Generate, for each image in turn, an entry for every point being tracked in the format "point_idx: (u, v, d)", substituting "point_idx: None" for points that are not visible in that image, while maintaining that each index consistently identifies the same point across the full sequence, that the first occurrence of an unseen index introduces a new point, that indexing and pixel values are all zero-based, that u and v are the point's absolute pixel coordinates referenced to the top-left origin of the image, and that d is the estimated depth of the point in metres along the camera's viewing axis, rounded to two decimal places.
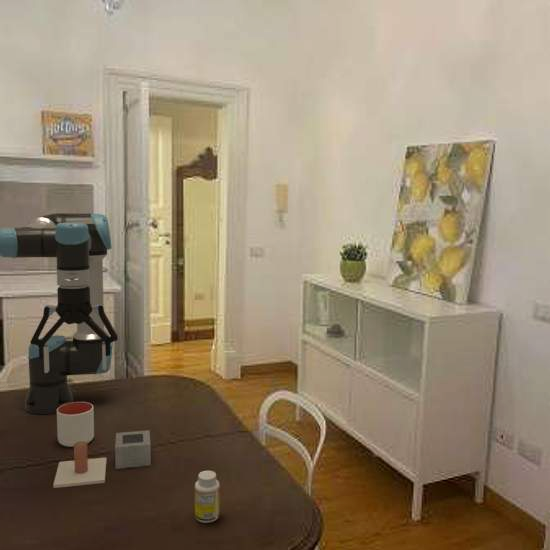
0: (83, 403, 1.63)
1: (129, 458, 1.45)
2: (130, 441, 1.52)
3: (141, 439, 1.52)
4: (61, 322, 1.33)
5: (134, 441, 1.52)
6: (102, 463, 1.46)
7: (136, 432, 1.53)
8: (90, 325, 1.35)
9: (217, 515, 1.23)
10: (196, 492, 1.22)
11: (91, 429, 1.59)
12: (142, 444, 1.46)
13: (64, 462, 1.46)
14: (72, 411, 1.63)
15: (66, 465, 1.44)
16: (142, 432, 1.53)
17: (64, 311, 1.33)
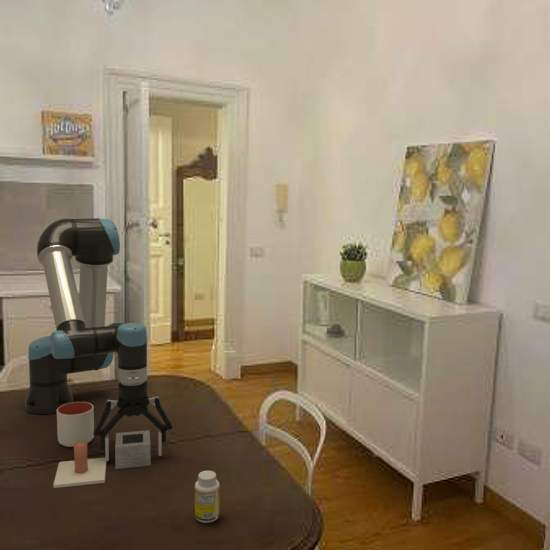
0: (83, 403, 1.63)
1: (129, 458, 1.45)
2: (130, 441, 1.52)
3: (141, 439, 1.52)
4: (122, 415, 1.45)
5: (134, 441, 1.52)
6: (102, 463, 1.46)
7: (137, 432, 1.53)
8: (148, 416, 1.48)
9: (217, 515, 1.23)
10: (196, 492, 1.22)
11: (91, 429, 1.59)
12: (142, 444, 1.46)
13: (64, 462, 1.46)
14: (72, 411, 1.63)
15: (66, 465, 1.44)
16: (142, 432, 1.53)
17: (124, 405, 1.46)
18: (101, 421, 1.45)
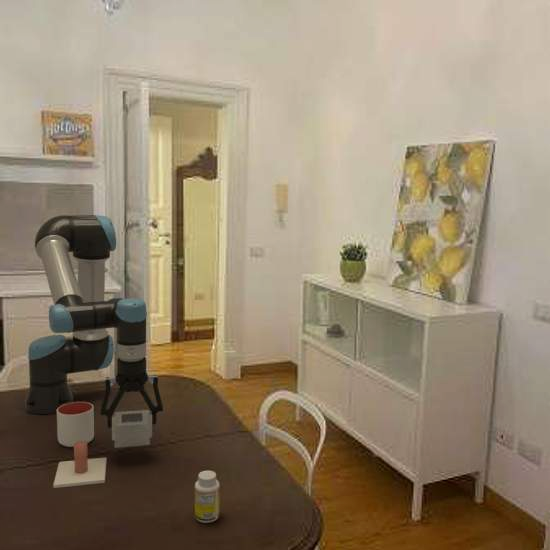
0: (83, 403, 1.63)
1: (128, 437, 1.45)
2: (129, 420, 1.51)
3: (140, 418, 1.52)
4: (122, 392, 1.45)
5: (133, 420, 1.52)
6: (102, 463, 1.46)
7: (136, 412, 1.52)
8: (143, 394, 1.47)
9: (217, 515, 1.23)
10: (196, 492, 1.22)
11: (91, 429, 1.59)
12: (141, 423, 1.46)
13: (64, 462, 1.46)
14: (72, 411, 1.63)
15: (66, 465, 1.44)
16: (141, 411, 1.52)
17: (123, 380, 1.45)
18: (104, 400, 1.45)
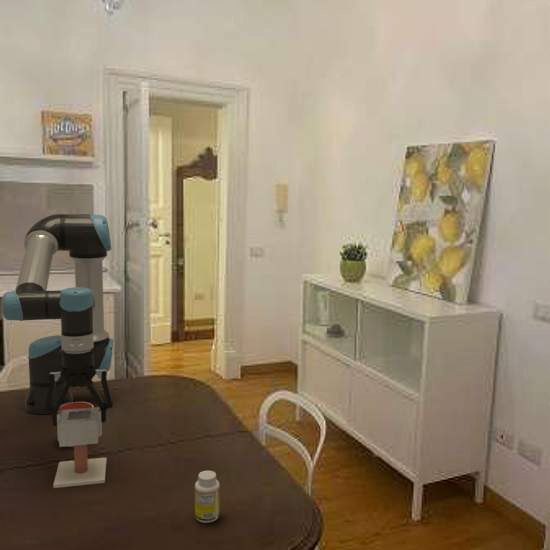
0: (83, 403, 1.63)
1: (74, 435, 1.35)
2: (78, 418, 1.42)
3: (90, 416, 1.43)
4: (68, 387, 1.36)
5: (82, 418, 1.42)
6: (102, 463, 1.46)
7: (85, 409, 1.43)
8: (90, 390, 1.38)
9: (217, 515, 1.23)
10: (196, 492, 1.22)
11: None
12: (88, 420, 1.36)
13: (64, 462, 1.46)
14: None
15: (66, 465, 1.44)
16: (91, 409, 1.43)
17: (69, 374, 1.36)
18: (48, 396, 1.35)
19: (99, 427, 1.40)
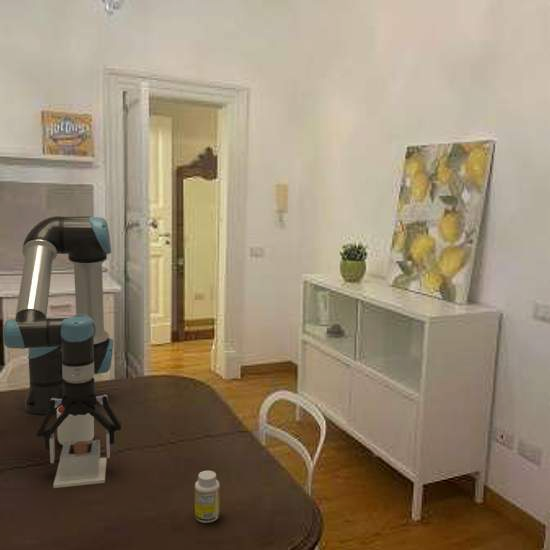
0: None
1: (75, 469, 1.37)
2: None
3: (90, 449, 1.44)
4: (66, 414, 1.37)
5: None
6: (102, 463, 1.46)
7: None
8: (94, 416, 1.39)
9: (217, 515, 1.23)
10: (196, 492, 1.22)
11: (91, 429, 1.59)
12: (89, 454, 1.38)
13: None
14: None
15: None
16: (92, 441, 1.45)
17: (69, 403, 1.37)
18: (45, 421, 1.36)
19: (107, 449, 1.41)
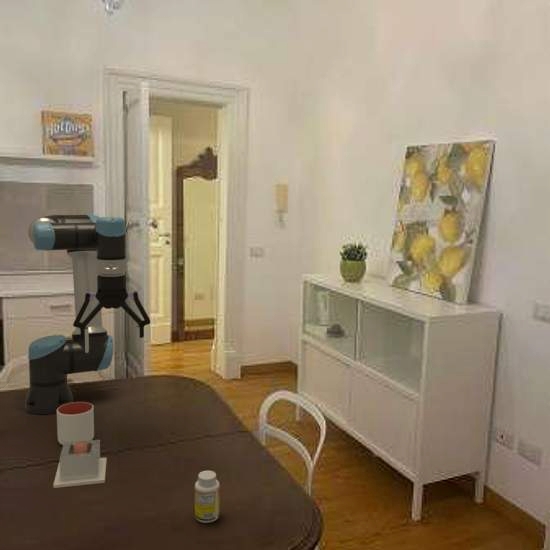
0: (83, 403, 1.63)
1: (75, 469, 1.37)
2: None
3: (90, 449, 1.44)
4: (100, 307, 1.48)
5: None
6: (102, 463, 1.46)
7: None
8: (126, 310, 1.50)
9: (217, 515, 1.23)
10: (196, 492, 1.22)
11: (91, 429, 1.59)
12: (89, 454, 1.38)
13: None
14: (72, 411, 1.63)
15: None
16: (92, 441, 1.45)
17: (103, 297, 1.48)
18: (80, 312, 1.47)
19: (138, 342, 1.52)
